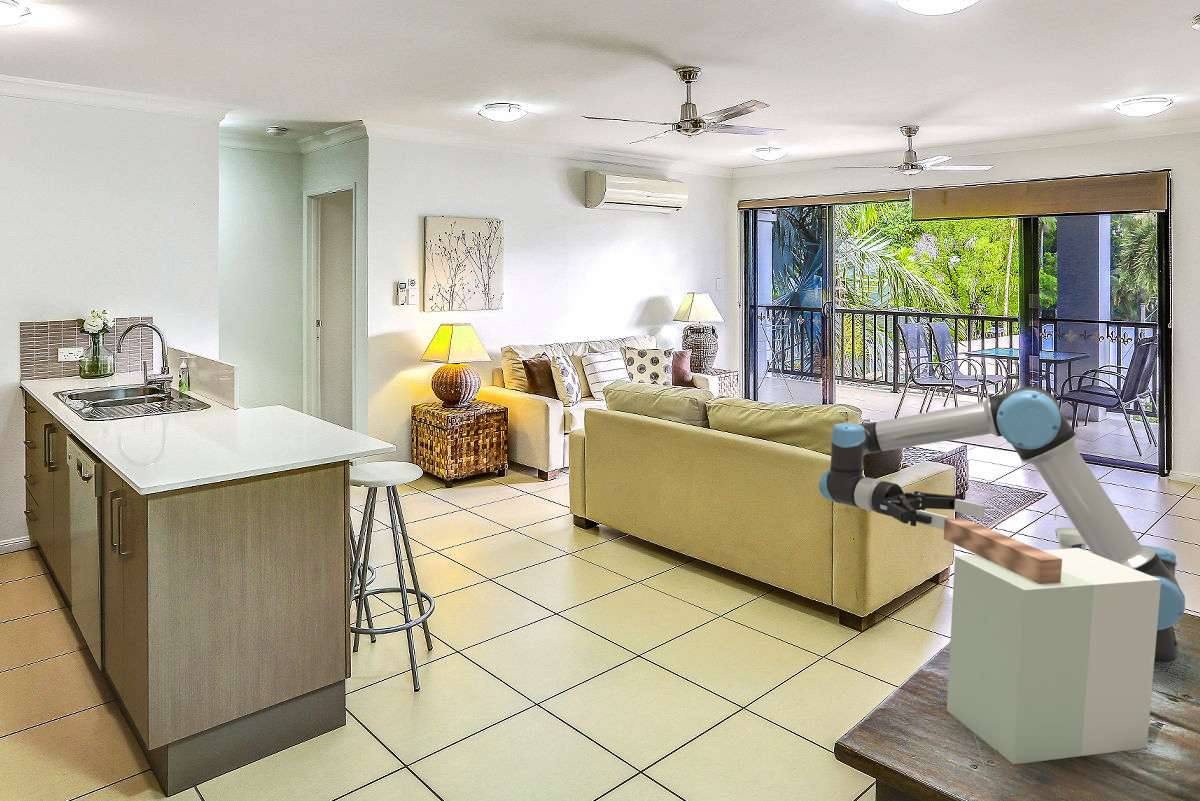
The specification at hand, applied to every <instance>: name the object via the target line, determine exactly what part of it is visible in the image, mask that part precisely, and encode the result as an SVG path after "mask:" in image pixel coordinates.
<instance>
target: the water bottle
mask: <svg viewBox="0 0 1200 801" xmlns="http://www.w3.org/2000/svg"><path fill="white" fill-rule="evenodd" d="M1057 512H1058V506H1056V507H1055V514H1054V521H1055V520H1056V519H1057ZM1054 531H1055V535H1056V539H1057V540H1058V548H1057V549H1068V548H1080V549H1082V550H1085V551H1086V546H1087V544H1086V543H1085V541H1084V540H1083V538H1082V537H1081V535H1080V533H1079V532H1078V530H1077V529H1076V527H1056V529H1055V530H1054Z"/></svg>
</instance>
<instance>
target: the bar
mask: <svg viewBox="0 0 1200 801" xmlns="http://www.w3.org/2000/svg"><path fill="white" fill-rule="evenodd" d="M943 540H945V541H946V542H948V543H951V544H954V545H956V546H957V547H960V548H962V549H964V550H966V551H969V552H970V553H973V554H974V555H979V556H981V557H983V558H985V559H987V560H989V561H992V562H994V563H996V564H998V565H1000V566H1002V567H1004V568H1006V569H1009V570H1011V571H1013V572H1015V573H1017V574H1019V575H1021V576H1024V577H1026V578H1028V579H1030V580H1032V581H1034V582H1036V583H1038V584H1046V583H1059V582H1061V570H1062V559H1061V558H1058V557H1056V556H1054V555H1051V554H1049V553H1046V552H1044V551H1041V550H1042V549H1038V548H1036V547H1034V546H1031V545H1029V544H1026V543H1024V542H1022V541H1019V540H1017V539H1015V538H1012V537H1009V536H1007V535H1005V534H1002V533H1000V532H998V531H996V530H993V529H990V528H988V527H986V526H983V525H980V524H978V523H976V522H973V521H971V520H968V519H965V518H964V517H961V518H960V517H959V518H949V519H945V522H944V530H943Z"/></svg>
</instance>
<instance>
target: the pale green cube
mask: <svg viewBox="0 0 1200 801" xmlns="http://www.w3.org/2000/svg"><path fill="white" fill-rule="evenodd" d="M1040 550H1041V551H1044V552H1046V553H1049V554H1051V555H1054V556H1056V557H1058V558H1061V559H1062V570H1061V582H1059V583H1046V584H1038V583H1036V582H1034V581H1032V580H1030V579H1028V578H1026V577H1024V576H1021V575H1019V574H1017V573H1015V572H1013V571H1011V570H1009V569H1006V568H1004V567H1002V566H1000V565H998V564H996V563H994V562H992V561H989V560H987V559H985V558H983V557H981V556H979V555H977V554H966V555H965V554H963V555H955V556H954V567H953V568H954V569H953V584H952V586H953V588H952V603H951V622H950V623H951V624H950V639H949V640H950V642H949V643H950V644H949V660H948V676H947V677H948V679H947V682H948V683H947V684H948V685H947V697H946V699H947V702H946V703H947V704H946V712H948V713H949V714H950V715H952V717H954V718H955V719H956V720H957V721H959V722H960V723H961V724H963V725H964V726H965V727H966V728H968V729H969V730H970V731H972V732H973V733H974V734H975V735H976V736H977V737H979V738H980V739H981V740H982V741H984V742H985V743H986V744H987V745H989V747H991V748H992V749H994V751H996V752H997V751H998V752H999V753H998V752H997V753H998V754H1000V755H1001V756H1002V757H1003V758H1005V759H1006V760H1007V761H1008V762H1010V763H1011V764H1012V765H1020V764H1028V763H1037V762H1044V761H1051V760H1052V761H1053V760H1061V759H1067V758H1068V759H1069V758H1077V757H1085V756H1093V755H1100V754H1101V755H1102V754H1109V753H1117V752H1125V751H1134V750H1142V749H1148V748H1147V747H1148V741H1149V740H1148V738H1149V726H1150V718H1151V717H1150V716H1151V705H1152V704H1151V702H1152V691H1153V682H1154V680H1153V679H1154V669H1155V661H1154V659H1155V647H1156V635H1157V623H1158V612H1159V600H1160V588H1161V579H1158V578H1156V577H1153V576H1150V575H1148V574H1145V573H1142V572H1140V571H1137V570H1135V569H1132V568H1129V567H1127V566H1124V565H1122V564H1119V563H1116V562H1114V561H1111V560H1109V559H1106V558H1103V557H1101V556H1098V555H1096V554H1093V553H1092V552H1091V551H1087V550H1086V549H1085V550H1082V549H1080V548H1068V549H1058V548H1057V549H1040Z"/></svg>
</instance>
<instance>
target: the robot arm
mask: <svg viewBox="0 0 1200 801" xmlns="http://www.w3.org/2000/svg"><path fill="white" fill-rule="evenodd" d="M991 434H992V435H993V436H994V437H996V438H998V437H1002V438H1003V439H1005V440H1006V442H1007V443H1009V444H1010V445H1012V447H1013V448H1014V450H1015V452H1016V453H1017V454H1018V456H1019V458H1020V459H1021V461H1022V462H1023V463H1027V464H1031V465H1033V466H1035V469H1036V470H1037V471H1038V473H1039V474H1040V476H1041V477H1042V479H1043V480H1044V482H1045V484H1046V485H1047V486H1048V487H1049V489H1050V491H1051V493H1052V494H1053V496H1054V497H1055V498H1056V499H1055V500H1057V502H1058V503H1059V504H1060V507H1061V508H1062V509H1063V511H1064V512H1065V514H1066V516H1067V517H1068V518H1069V520H1070V521H1071V523H1072V524H1073V525H1074V528H1076V529H1077V530H1078V532H1079V533H1080V535H1081V537H1082V538H1083V540H1084V541H1085V543H1086V546H1087V547H1088V548H1089V550H1090V553H1093V554H1096V555H1098V556H1101V557H1103V558H1106V559H1109V560H1111V561H1114V562H1116V563H1119V564H1122V565H1124V566H1127V567H1129V568H1132V569H1135V570H1137V571H1140V572H1142V573H1145V574H1148V575H1150V576H1153V577H1156V578H1158V579H1161V588H1160V600H1159V612H1158V623H1157V635H1156V647H1155V659H1154V662H1171V661H1173V660H1176V659H1177V658H1178V656H1179V644H1178V640H1177V637H1176V632H1175V629H1174V627H1173V626H1175V625H1176V624H1177V623H1178V622H1179V621H1180V620H1181V619H1182V617H1183V615H1184V613H1185V608H1186V598H1185V594H1184V593H1183V591H1182V589H1181V587H1180V586H1179V582H1178V581H1177V578H1176V567H1177V565H1178V562H1177V556H1176V553H1175V552H1174V551H1172V550H1169V549H1167V548H1161V547H1157V546H1152V545H1151V546H1150V545H1145V544H1141V542H1140V541H1139V539H1137V537H1136V535H1135V534H1134V532H1133V531H1132V530H1131V528H1130V527H1129V525H1128V523H1127V522H1126V521H1125V519H1124V518H1123V516H1122V514H1121V512H1120V511H1119V510H1118V509H1117V507H1116V505H1115V504H1114V503H1113V501H1112V500H1111V498H1110V497H1109V495H1108V494H1107V492H1106V491H1105V489H1104V487H1103V486H1102V485H1101V483H1100V482H1099V481H1098V479H1097V478H1096V476H1095V475H1094V473H1093V471H1092V470H1091V468H1090V467H1089V466H1088V464H1087V463H1086V461H1085V460H1084V458H1083V457H1082V455H1081V454H1080V453H1079V451H1078V449H1077V448H1076V446H1075V441H1076V437H1077V434H1076V432H1075V430H1074V429H1073V428H1072V426H1071V424H1070V423H1069V422H1068V421H1067V419H1066V417H1065V416H1064V414H1063V413H1062V412H1061V409H1060V405H1059V402H1058V401H1057V399H1056V398H1055V397H1054V395H1052V394H1051V393H1050V392H1049V391H1047V390H1045V389H1044V388H1041V387H1037V386H1036V387H1035V386H1024V387H1021V388H1017V389H1013V390H1011V391H1007V392H1005V393H1001V394H997V395H991V396H987V398H986V399H985V400H984V401H982V402H977V403H973V404H972V403H971V404H966V405H961V406H955V407H950V408H945V409H939V410H935V411H928V412H924V413H917V414H913V415H907V416H902V417H895V418H891V419H887V420H886V419H885V420H881V421H880V420H879V421H875V422H869V423H851V422H841V423H836V424H834V425H833V427H832V433H831V437H830V440H831V449H830V450H831V451H830V468H829V469H827V470H825V471H824V472H823V473H822V474H821V476H820V480H819V481H818V490H819V493H820V494H821V496H822V497H823V498H824V499H826V500H828V501H829V500H830V501H832V502H835V503H837V504H842V505H847V506H849V507H855V508H858V509H863V510H866V512H867V513H871V512H875V513H876V514H881V515H885V516H889V517H892V518H893V519H895V520H897V521H899V522H900V523H902V524H905V525H906V524H907V525H908V524H909V522H910V526H911V527H916V526H917V523H918V524H921V525H924V526H928V527H933V528H936V529H940V530H943V531H944V522H945V519H950V518H949V516H947V515H942V514H939V513H935V512H931V511H930V512H929V511H926V509H929V510H930V509H931V510H954V512H957V513H960V514H964V515H968V516H973V517H977V518H981V519H983V518H985V513H986V505H985V504H982V503H981V504H980V503H978V502H977V503H976V502H973V501H972V502H971V501H968V500H963V499H961V496H960V495H959V494H955V495H951V494H939V493H930V492H922V491H917V490H916V491H915V490H914V492H904V491H903V489H902V487H901V486H900V485H899V484H897V483H895V482H889V481H886V480H885V481H884V480H881V479H876V478H871V477H867V476H863V471H864V458H865V456H866V455H869V454H876V453H880V452H885V451H891V450H898V449H899V450H900V449H904V448H910V447H918V446H924V445H930V444H934V443H935V444H936V443H941V442H942V443H943V442H947V441H954V440H955V441H956V440H960V439H966V438H967V439H968V438H973V437H977V436H985V435H986V436H987V435H991Z"/></svg>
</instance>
